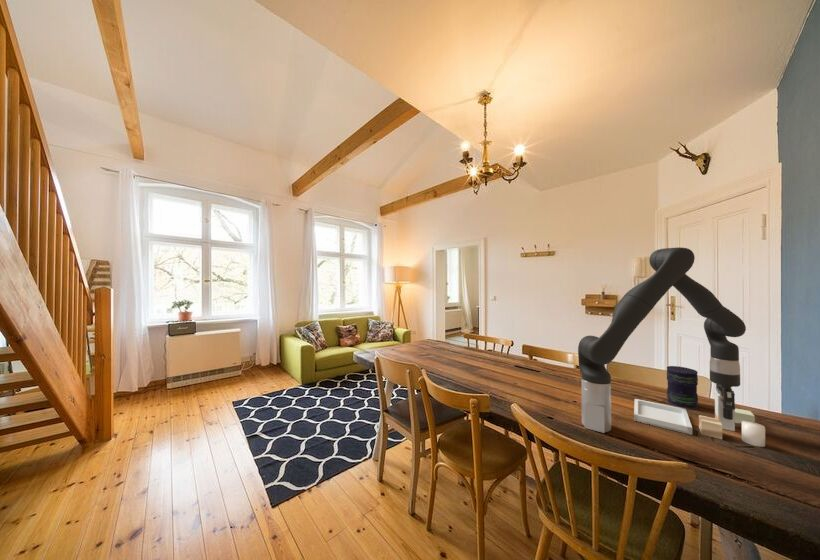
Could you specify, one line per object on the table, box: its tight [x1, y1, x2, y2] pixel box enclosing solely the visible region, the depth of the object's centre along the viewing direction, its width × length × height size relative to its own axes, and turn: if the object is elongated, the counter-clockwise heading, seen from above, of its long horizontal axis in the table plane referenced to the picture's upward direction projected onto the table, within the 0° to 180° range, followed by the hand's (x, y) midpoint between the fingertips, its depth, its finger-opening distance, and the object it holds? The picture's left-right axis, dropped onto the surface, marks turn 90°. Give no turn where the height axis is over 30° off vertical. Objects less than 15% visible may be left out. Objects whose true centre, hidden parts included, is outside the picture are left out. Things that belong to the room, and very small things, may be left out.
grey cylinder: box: [741, 421, 766, 448], centre depth 94 cm, size 5×5×6 cm
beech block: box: [698, 414, 723, 440], centre depth 100 cm, size 5×5×5 cm
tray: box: [633, 398, 693, 436], centre depth 111 cm, size 18×16×2 cm
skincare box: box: [714, 390, 736, 432], centre depth 104 cm, size 6×4×12 cm
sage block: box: [735, 407, 756, 425], centre depth 107 cm, size 5×5×4 cm
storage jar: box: [666, 365, 699, 410], centre depth 123 cm, size 10×10×15 cm
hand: (725, 414), depth 104 cm, fingers open, 8 cm apart
